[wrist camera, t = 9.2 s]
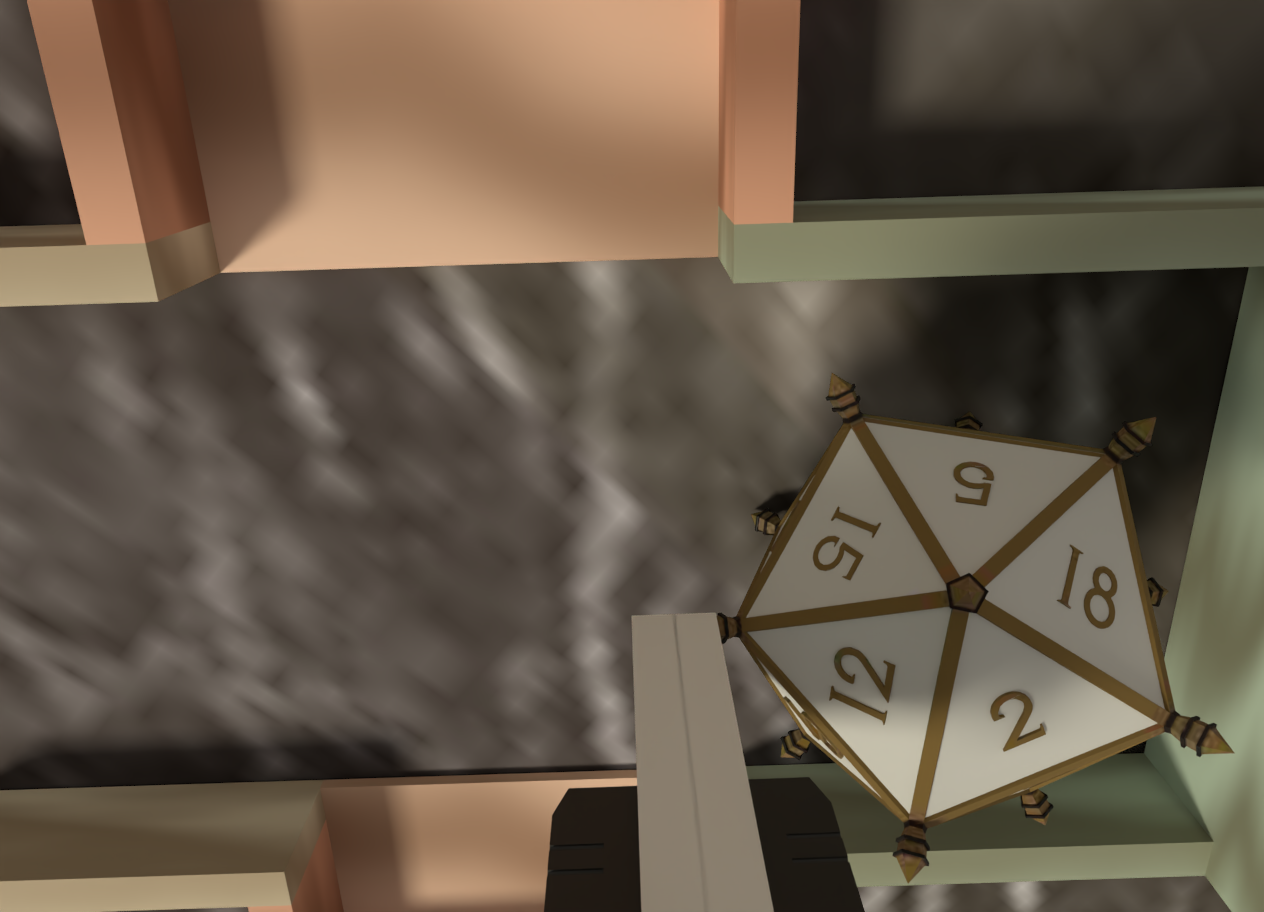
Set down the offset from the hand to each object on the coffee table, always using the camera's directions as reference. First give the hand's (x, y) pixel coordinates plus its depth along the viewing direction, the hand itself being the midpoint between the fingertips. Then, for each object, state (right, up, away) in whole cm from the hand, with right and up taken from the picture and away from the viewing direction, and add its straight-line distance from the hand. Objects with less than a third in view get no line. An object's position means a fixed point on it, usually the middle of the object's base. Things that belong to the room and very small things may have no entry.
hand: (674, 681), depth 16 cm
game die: (+5, +3, +5) cm, 8 cm away
